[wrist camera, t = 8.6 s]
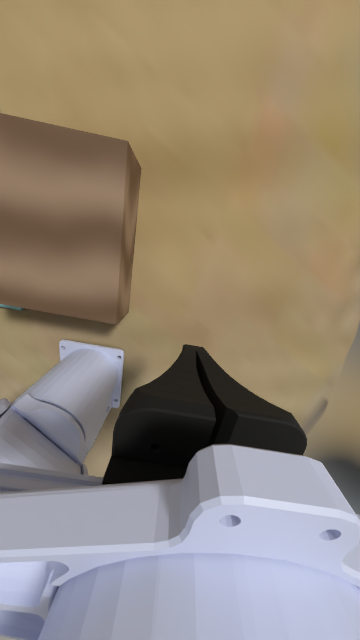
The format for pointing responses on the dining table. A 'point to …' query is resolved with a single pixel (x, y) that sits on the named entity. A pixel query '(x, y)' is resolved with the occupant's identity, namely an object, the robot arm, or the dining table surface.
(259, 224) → the dining table surface
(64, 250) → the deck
